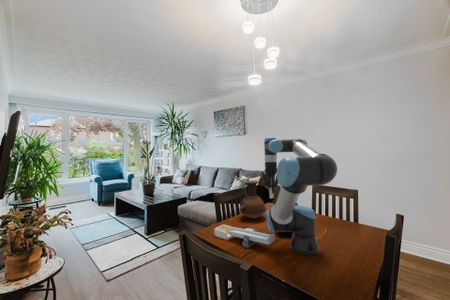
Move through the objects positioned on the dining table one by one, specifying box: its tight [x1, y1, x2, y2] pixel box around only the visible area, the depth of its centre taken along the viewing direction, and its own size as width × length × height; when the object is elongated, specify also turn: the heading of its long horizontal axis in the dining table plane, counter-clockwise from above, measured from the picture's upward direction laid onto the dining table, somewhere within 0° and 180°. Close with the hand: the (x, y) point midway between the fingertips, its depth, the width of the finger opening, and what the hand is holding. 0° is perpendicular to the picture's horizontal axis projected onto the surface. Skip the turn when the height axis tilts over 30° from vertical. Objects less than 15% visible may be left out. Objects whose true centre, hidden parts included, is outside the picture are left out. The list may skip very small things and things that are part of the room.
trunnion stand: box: [242, 230, 258, 249], centre depth 120 cm, size 4×11×6 cm, turn 139°
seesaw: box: [228, 227, 276, 245], centre depth 122 cm, size 28×13×3 cm, turn 50°
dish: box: [213, 224, 235, 241], centre depth 133 cm, size 11×10×4 cm
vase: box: [239, 180, 267, 220], centre depth 162 cm, size 25×20×30 cm
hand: (271, 197), depth 130 cm, fingers closed
